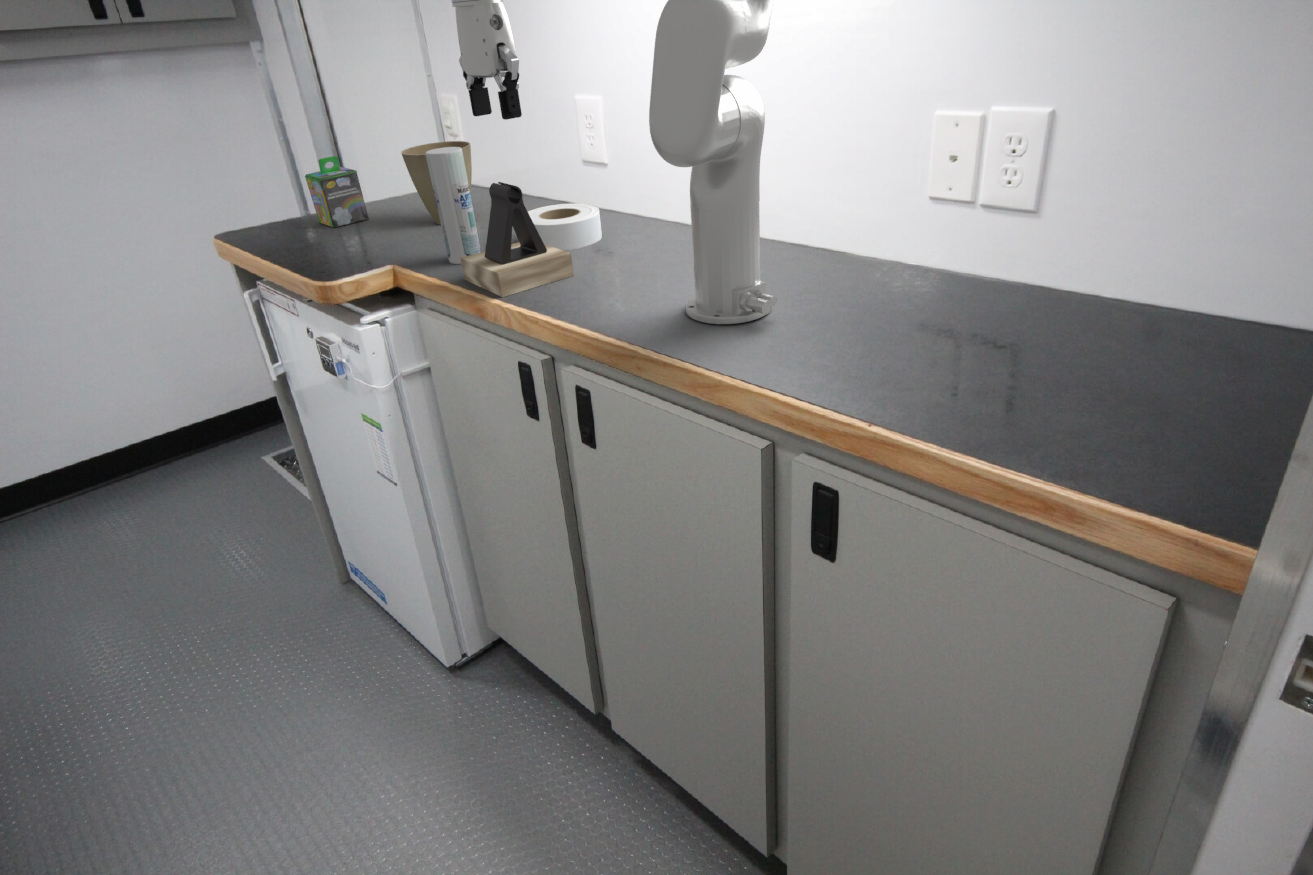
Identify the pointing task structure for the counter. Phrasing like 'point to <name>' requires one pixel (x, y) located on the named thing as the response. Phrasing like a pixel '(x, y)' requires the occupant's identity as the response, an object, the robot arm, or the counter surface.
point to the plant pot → (421, 175)
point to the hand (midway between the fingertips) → (497, 116)
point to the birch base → (517, 271)
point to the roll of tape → (567, 225)
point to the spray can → (453, 202)
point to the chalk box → (336, 194)
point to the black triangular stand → (510, 226)
